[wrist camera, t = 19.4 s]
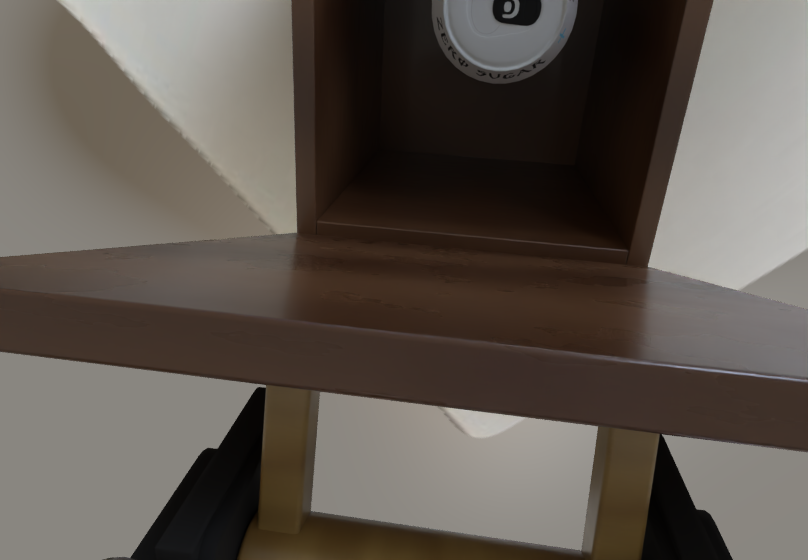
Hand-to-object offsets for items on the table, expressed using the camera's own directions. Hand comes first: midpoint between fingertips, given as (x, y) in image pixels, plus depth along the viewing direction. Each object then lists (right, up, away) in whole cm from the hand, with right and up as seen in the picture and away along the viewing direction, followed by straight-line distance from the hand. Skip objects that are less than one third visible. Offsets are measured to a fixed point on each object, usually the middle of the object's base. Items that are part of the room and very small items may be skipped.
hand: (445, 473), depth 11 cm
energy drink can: (+5, +21, +25) cm, 33 cm away
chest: (+5, +20, +26) cm, 33 cm away
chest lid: (+1, +4, +4) cm, 6 cm away
